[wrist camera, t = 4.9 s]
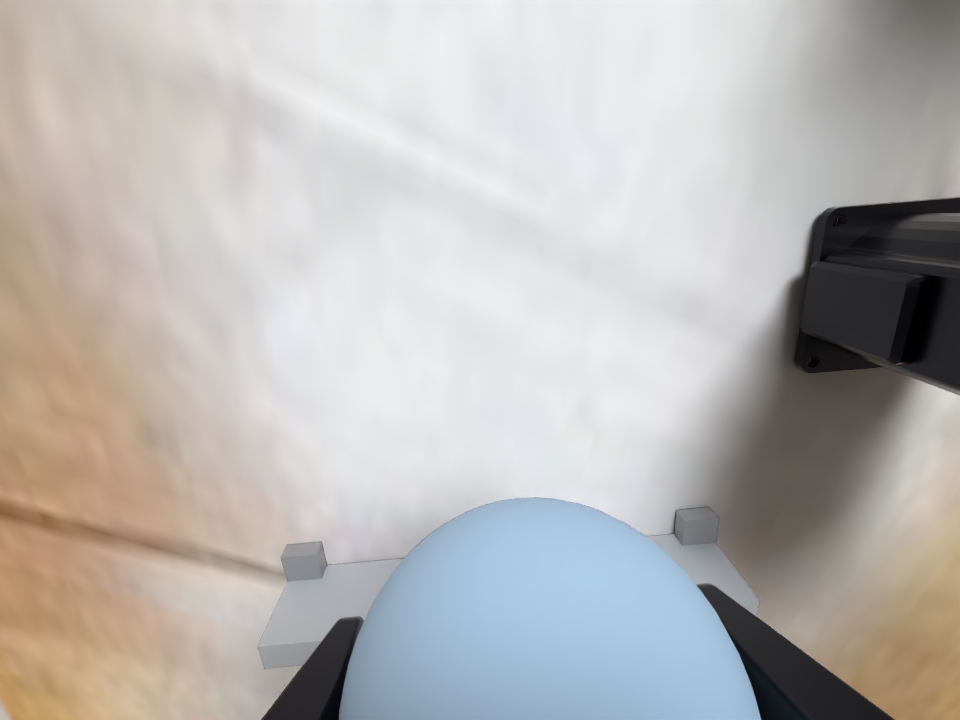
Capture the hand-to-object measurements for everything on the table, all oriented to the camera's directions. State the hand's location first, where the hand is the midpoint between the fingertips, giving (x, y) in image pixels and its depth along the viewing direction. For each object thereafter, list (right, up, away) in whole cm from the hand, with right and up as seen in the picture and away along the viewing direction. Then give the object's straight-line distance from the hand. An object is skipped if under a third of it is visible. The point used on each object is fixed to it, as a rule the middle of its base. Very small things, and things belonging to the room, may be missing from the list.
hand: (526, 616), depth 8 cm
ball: (0, 0, +1) cm, 2 cm away
